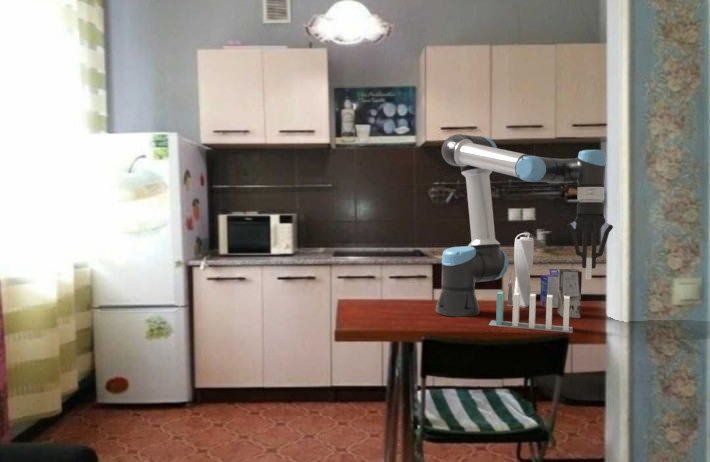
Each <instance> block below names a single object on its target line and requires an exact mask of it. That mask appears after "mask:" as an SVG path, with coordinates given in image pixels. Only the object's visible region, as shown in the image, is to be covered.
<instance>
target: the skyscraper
mask: <svg viewBox="0 0 710 462" xmlns="http://www.w3.org/2000/svg"><path fill="white" fill-rule="evenodd" d="M522 235H527V237H526V236H522ZM530 235H531V234H530V233H529V232H522V233H519V234H517V235H516V237H515V238H514V246H513V247H514V249H513V251H514V252H513V259H514V261H513V262H514V270H515V282H514V285H513V283H512V279H513V277H512V272H510V275H509V283H508V285H507V286H508V290H507V291H508V292H507V293H508V294H507V304H506V307H512V306H513V294H514V293H520V300H519V309H520V308H521V309H526V308H528V307H529V306H530V294H532V285H531V284H532V283H531V273H532V269H533V263H534V253H535V252H534V247H535V246H534V244H535V242H534V238H533V237H530ZM518 237H519V239H518ZM513 286H514V290H513Z"/></svg>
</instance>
